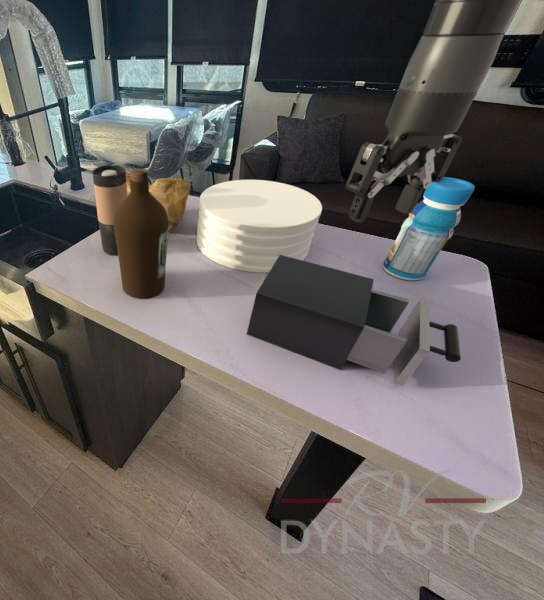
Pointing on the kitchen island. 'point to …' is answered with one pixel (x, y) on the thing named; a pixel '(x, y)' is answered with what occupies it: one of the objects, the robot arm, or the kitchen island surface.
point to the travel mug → (109, 201)
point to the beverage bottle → (427, 229)
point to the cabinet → (311, 310)
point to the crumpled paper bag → (169, 197)
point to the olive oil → (141, 239)
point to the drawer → (400, 337)
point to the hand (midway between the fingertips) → (379, 215)
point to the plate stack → (256, 223)
